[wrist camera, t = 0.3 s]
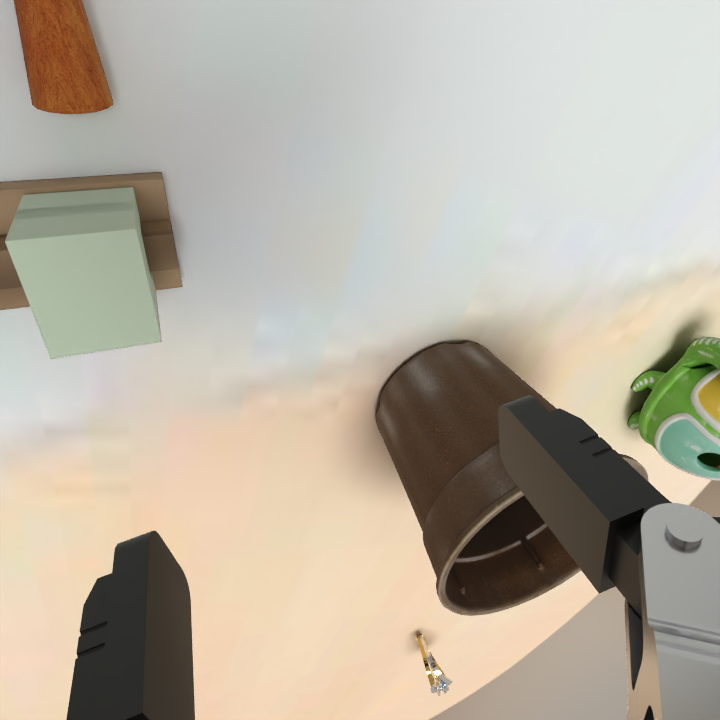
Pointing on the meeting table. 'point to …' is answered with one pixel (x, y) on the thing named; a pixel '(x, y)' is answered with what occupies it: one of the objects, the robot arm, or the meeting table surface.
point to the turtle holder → (685, 410)
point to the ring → (433, 669)
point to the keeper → (85, 270)
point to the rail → (4, 198)
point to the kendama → (61, 57)
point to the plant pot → (469, 479)
